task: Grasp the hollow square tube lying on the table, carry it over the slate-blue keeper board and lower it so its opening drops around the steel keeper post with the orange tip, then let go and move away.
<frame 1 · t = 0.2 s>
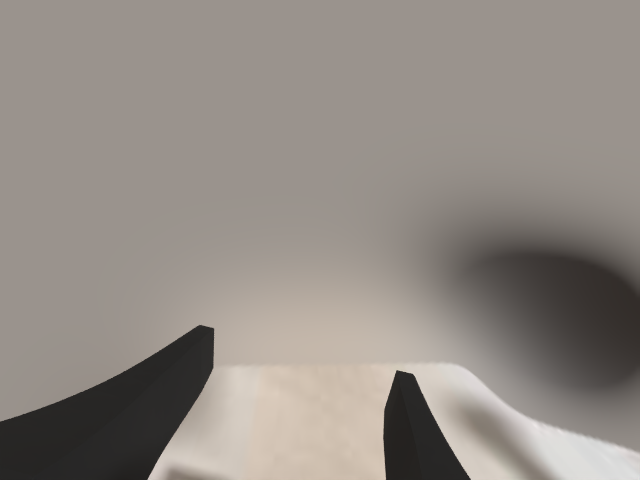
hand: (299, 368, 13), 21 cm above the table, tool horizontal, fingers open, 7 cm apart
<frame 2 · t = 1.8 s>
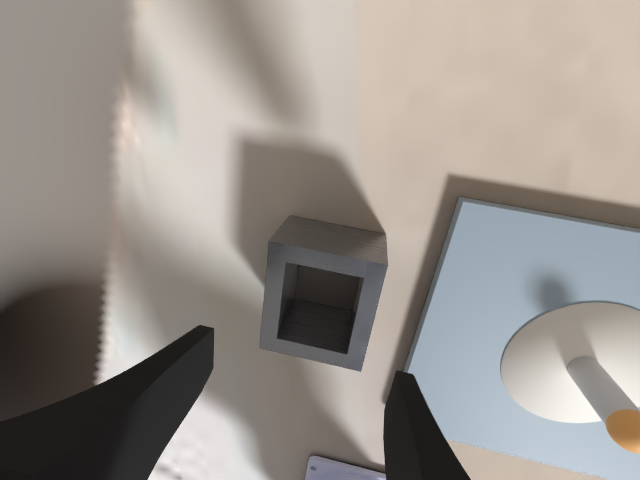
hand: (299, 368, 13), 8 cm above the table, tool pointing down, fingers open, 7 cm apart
keeper board: (572, 354, 20), on the table
hollow square tube: (328, 273, 20), on the table
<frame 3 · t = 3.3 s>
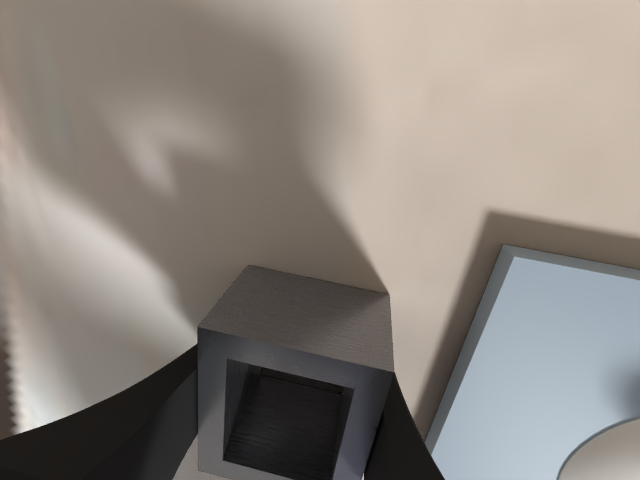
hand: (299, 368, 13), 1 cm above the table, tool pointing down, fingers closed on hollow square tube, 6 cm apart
hollow square tube: (306, 344, 14), on the table, touching gripper
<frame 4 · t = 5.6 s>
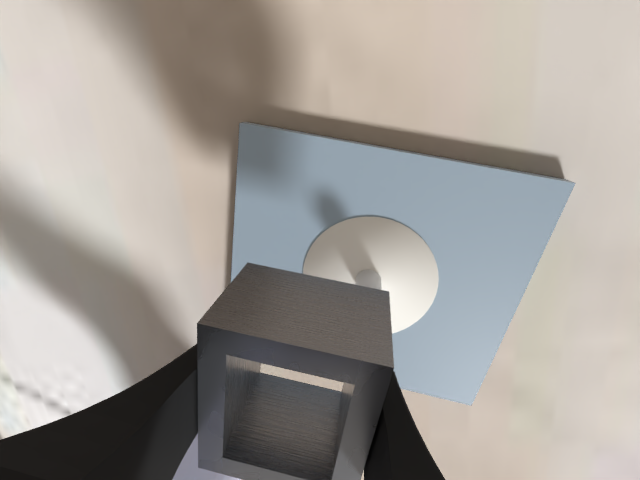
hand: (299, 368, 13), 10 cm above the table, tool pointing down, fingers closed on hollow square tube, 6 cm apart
keeper board: (368, 272, 22), on the table
hollow square tube: (306, 341, 14), point 8 cm above the table, touching gripper
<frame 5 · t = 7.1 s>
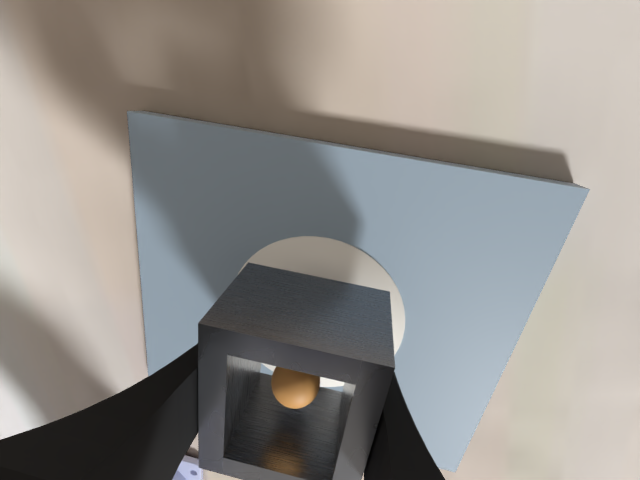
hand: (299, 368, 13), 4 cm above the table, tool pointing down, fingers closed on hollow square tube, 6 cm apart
keeper board: (318, 306, 17), on the table
hollow square tube: (307, 341, 14), point 3 cm above the table, touching gripper
when the fingers open (4 cm above the table, at t = 8.2 s): hollow square tube drops 1 cm, resting on keeper board.
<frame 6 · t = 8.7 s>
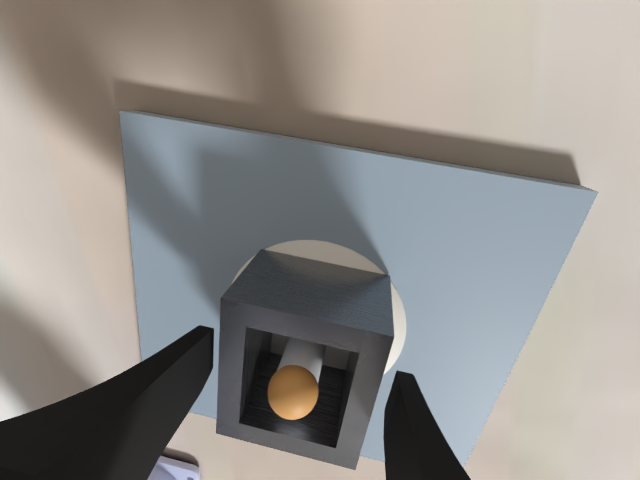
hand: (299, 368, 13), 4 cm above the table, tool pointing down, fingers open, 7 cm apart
keeper board: (316, 311, 16), on the table
hollow square tube: (313, 323, 15), point 1 cm above the table, touching keeper board
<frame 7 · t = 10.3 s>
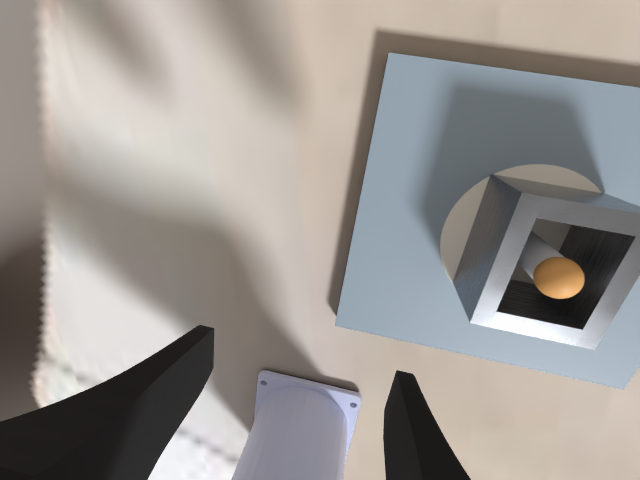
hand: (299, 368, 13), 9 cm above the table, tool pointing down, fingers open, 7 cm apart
keeper board: (514, 235, 19), on the table
hollow square tube: (523, 241, 18), point 1 cm above the table, touching keeper board
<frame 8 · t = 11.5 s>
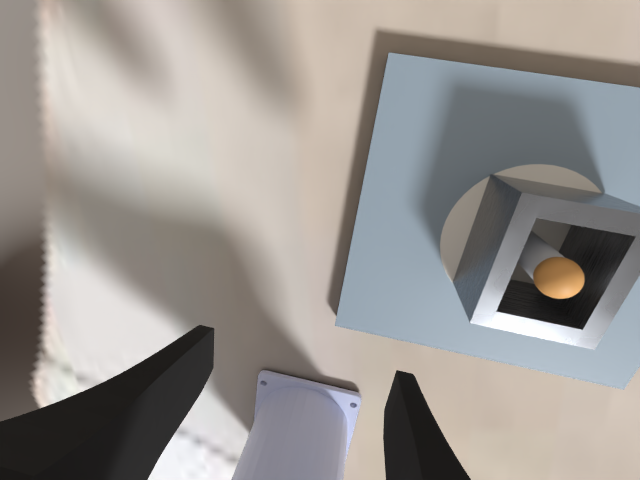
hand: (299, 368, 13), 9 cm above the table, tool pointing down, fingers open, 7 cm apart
keeper board: (514, 235, 19), on the table
hollow square tube: (523, 241, 18), point 1 cm above the table, touching keeper board
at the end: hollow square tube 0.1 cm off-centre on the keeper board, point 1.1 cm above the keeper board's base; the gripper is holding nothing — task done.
